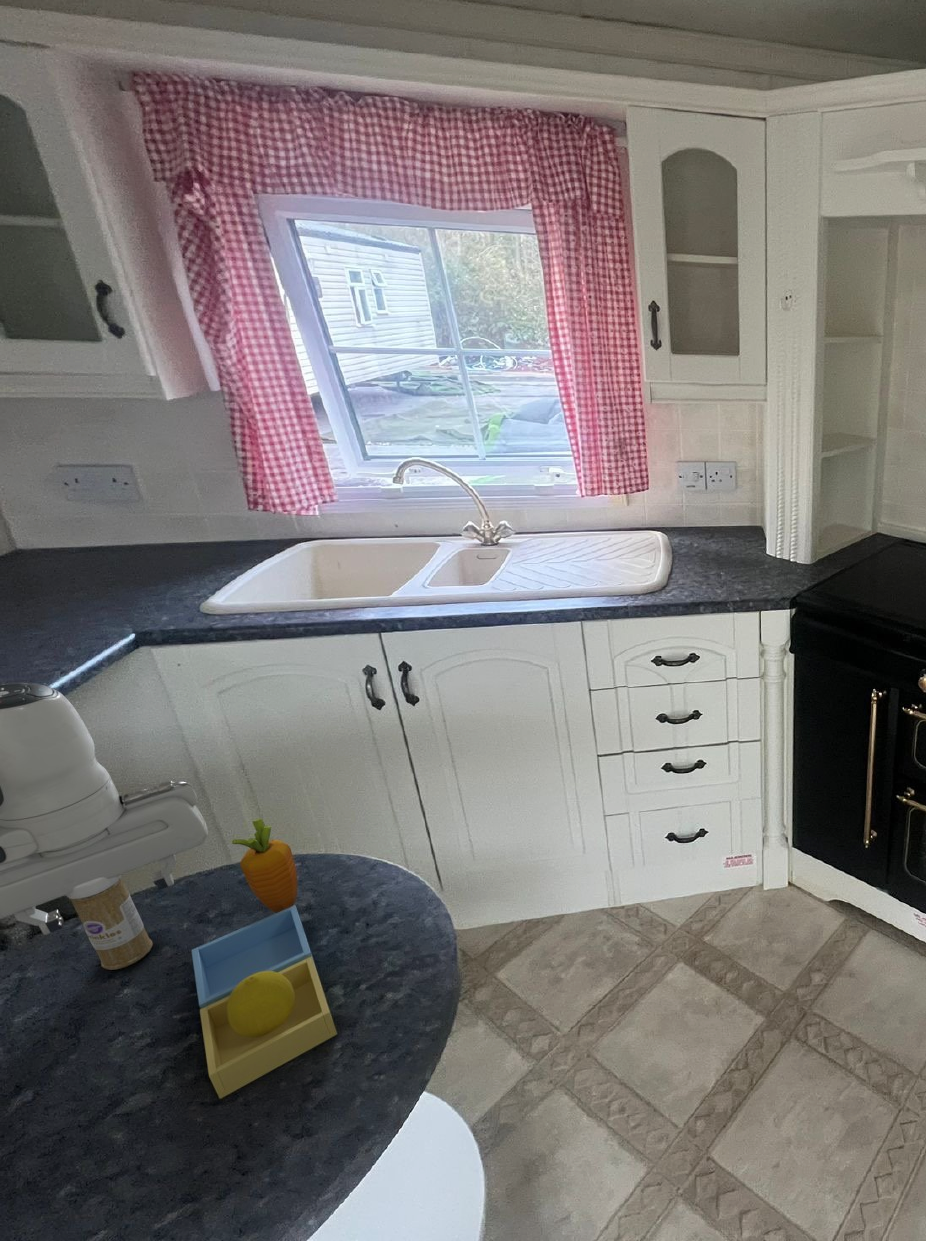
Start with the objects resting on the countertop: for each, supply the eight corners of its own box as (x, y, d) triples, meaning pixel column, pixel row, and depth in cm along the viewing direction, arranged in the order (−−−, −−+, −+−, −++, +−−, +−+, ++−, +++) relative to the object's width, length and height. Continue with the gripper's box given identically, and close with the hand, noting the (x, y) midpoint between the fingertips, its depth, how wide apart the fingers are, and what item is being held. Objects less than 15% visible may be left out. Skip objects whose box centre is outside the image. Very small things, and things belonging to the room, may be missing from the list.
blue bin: (209, 1027, 78) (198, 1005, 77) (200, 971, 84) (191, 949, 83) (317, 973, 85) (310, 952, 83) (302, 925, 91) (295, 904, 90)
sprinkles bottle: (94, 976, 83) (49, 891, 78) (114, 946, 87) (73, 863, 82) (144, 964, 85) (103, 880, 80) (161, 935, 89) (124, 853, 84)
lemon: (233, 1061, 74) (209, 1009, 71) (247, 1018, 78) (225, 967, 75) (297, 1040, 76) (277, 988, 73) (307, 998, 81) (289, 948, 78)
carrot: (290, 931, 90) (257, 840, 85) (253, 929, 90) (217, 838, 84) (319, 901, 95) (289, 813, 89) (283, 899, 95) (251, 811, 89)
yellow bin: (219, 1099, 71) (208, 1076, 70) (209, 1031, 77) (199, 1009, 76) (337, 1034, 78) (329, 1012, 76) (319, 977, 84) (311, 955, 83)
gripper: (186, 763, 87) (223, 849, 92) (-74, 844, 73) (-14, 939, 79) (190, 786, 83) (228, 874, 88) (-84, 876, 69) (-20, 974, 75)
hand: (112, 906), depth 83 cm, fingers open, 8 cm apart
